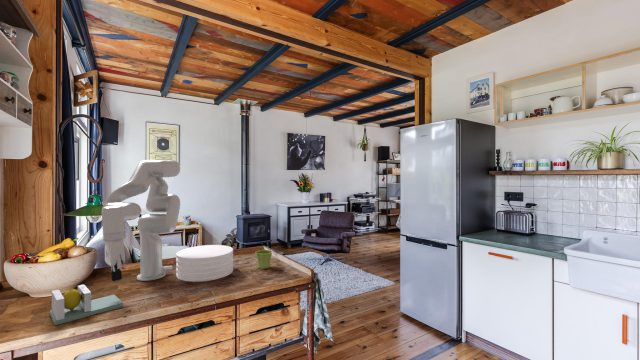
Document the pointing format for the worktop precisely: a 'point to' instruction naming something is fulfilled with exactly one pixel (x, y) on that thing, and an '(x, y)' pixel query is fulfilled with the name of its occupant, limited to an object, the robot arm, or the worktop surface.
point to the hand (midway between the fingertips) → (116, 279)
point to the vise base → (66, 315)
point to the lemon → (71, 299)
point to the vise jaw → (85, 298)
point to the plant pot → (263, 258)
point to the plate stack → (204, 263)
